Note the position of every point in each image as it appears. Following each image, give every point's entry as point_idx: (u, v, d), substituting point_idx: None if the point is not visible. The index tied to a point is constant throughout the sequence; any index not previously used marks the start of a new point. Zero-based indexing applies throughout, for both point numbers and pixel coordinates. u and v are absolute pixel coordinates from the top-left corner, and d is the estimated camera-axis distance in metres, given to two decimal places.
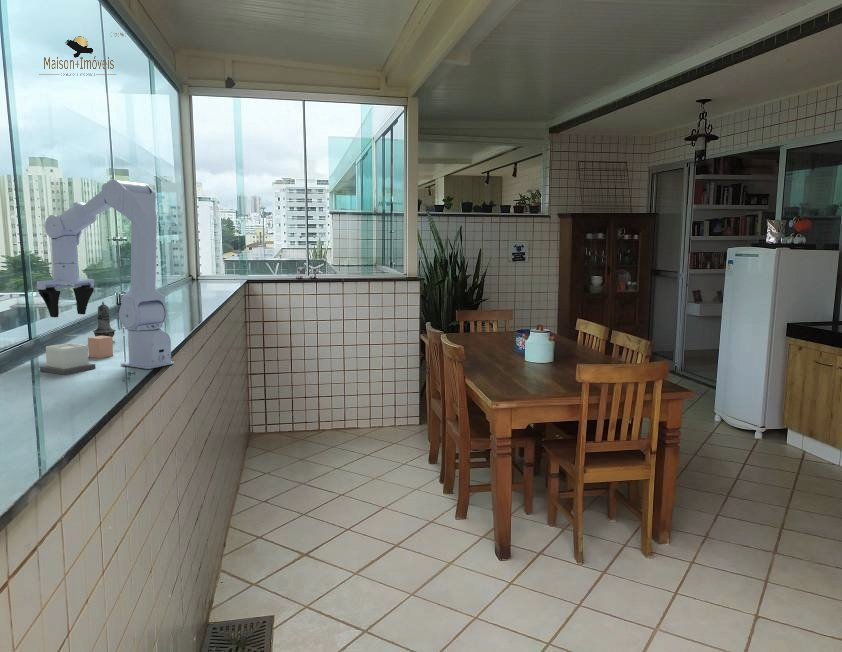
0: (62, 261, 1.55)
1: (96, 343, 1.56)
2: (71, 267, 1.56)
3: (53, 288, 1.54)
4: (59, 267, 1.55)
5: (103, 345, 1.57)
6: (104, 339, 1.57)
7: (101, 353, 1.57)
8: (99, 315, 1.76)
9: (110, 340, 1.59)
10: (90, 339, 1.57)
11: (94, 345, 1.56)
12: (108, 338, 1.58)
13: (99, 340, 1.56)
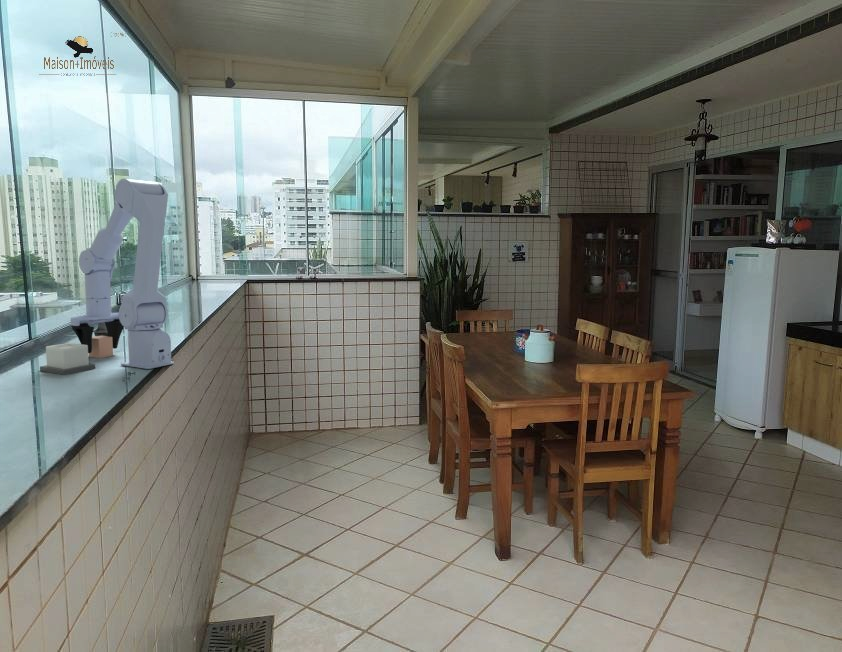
0: (94, 296, 1.54)
1: (96, 343, 1.56)
2: (104, 302, 1.55)
3: (87, 324, 1.54)
4: (93, 302, 1.54)
5: (103, 345, 1.57)
6: (104, 339, 1.57)
7: (101, 353, 1.57)
8: None
9: (110, 340, 1.59)
10: None
11: (94, 345, 1.56)
12: (108, 338, 1.58)
13: (99, 340, 1.56)
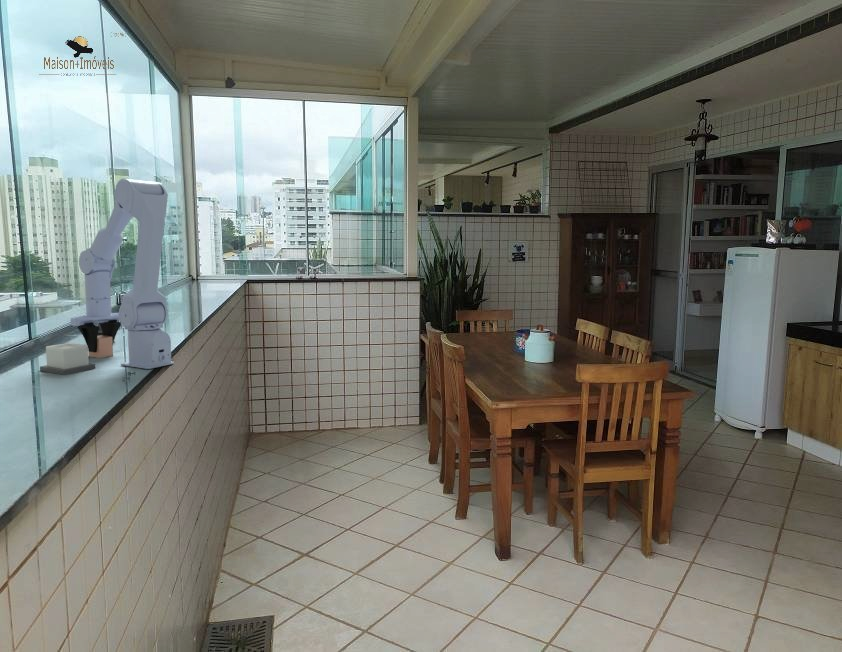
0: (94, 297, 1.54)
1: None
2: (104, 302, 1.55)
3: (87, 324, 1.54)
4: (93, 303, 1.54)
5: (103, 345, 1.57)
6: (104, 339, 1.57)
7: (101, 353, 1.57)
8: None
9: (110, 340, 1.59)
10: None
11: None
12: (108, 338, 1.58)
13: (99, 340, 1.56)
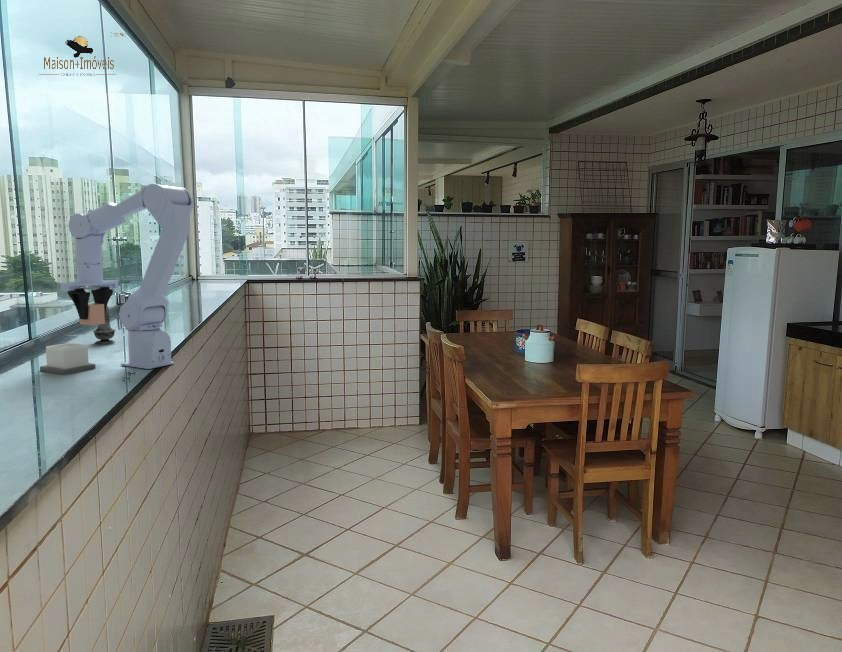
0: (88, 262, 1.49)
1: None
2: (95, 268, 1.50)
3: (77, 290, 1.48)
4: (83, 268, 1.49)
5: (94, 312, 1.52)
6: (95, 306, 1.52)
7: (93, 320, 1.52)
8: None
9: (102, 307, 1.54)
10: None
11: None
12: (99, 305, 1.53)
13: (90, 307, 1.51)
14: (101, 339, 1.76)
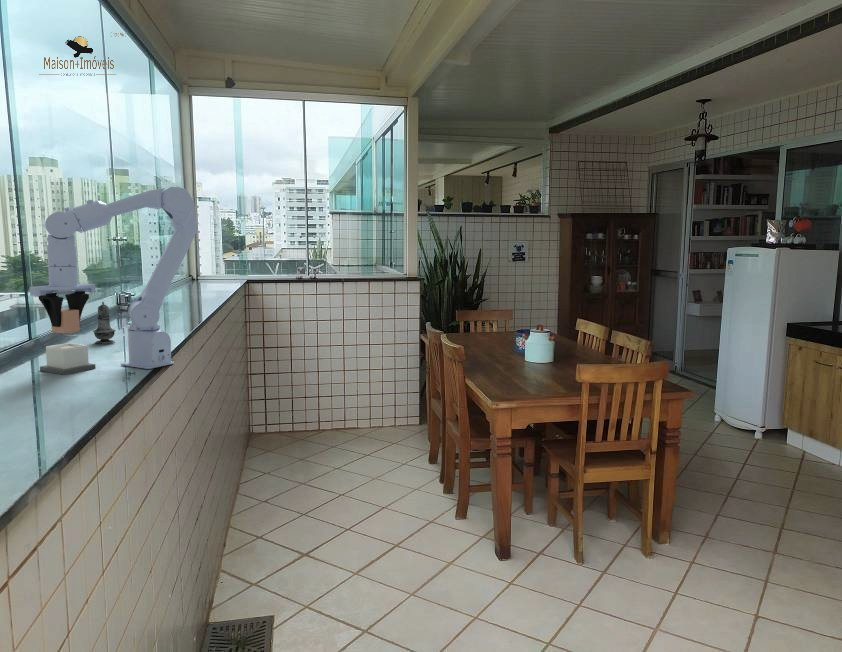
0: (72, 264, 1.38)
1: None
2: (69, 270, 1.37)
3: (49, 294, 1.36)
4: (55, 270, 1.36)
5: (68, 318, 1.39)
6: (69, 312, 1.39)
7: (66, 327, 1.39)
8: (99, 315, 1.76)
9: (76, 313, 1.41)
10: None
11: None
12: (74, 311, 1.40)
13: (63, 313, 1.38)
14: (101, 339, 1.76)
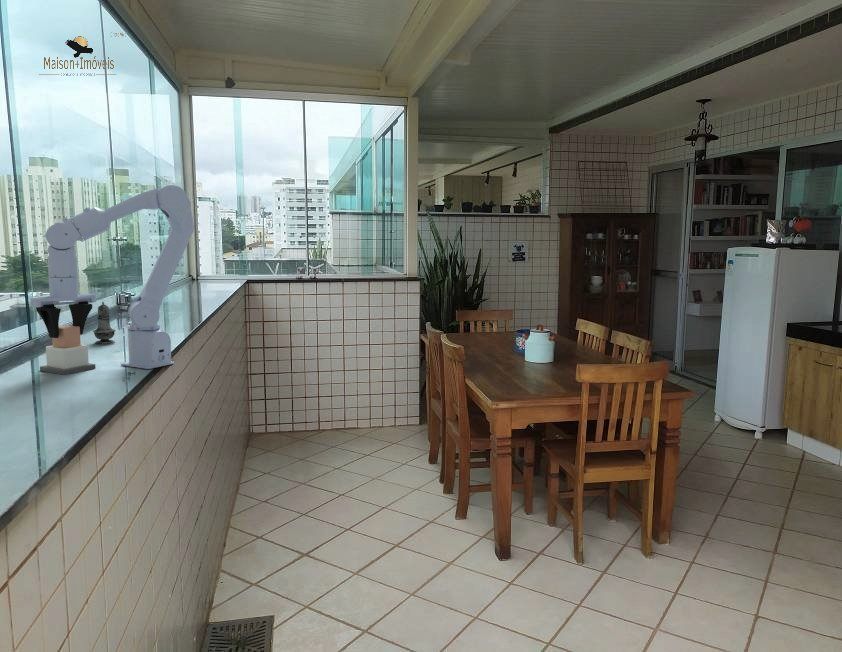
0: (72, 274, 1.38)
1: (61, 333, 1.39)
2: (70, 281, 1.38)
3: (49, 305, 1.36)
4: (56, 281, 1.37)
5: (69, 335, 1.40)
6: (70, 329, 1.40)
7: (67, 344, 1.39)
8: (99, 315, 1.76)
9: (77, 330, 1.41)
10: None
11: (59, 335, 1.39)
12: (75, 328, 1.41)
13: (64, 330, 1.38)
14: (101, 339, 1.76)
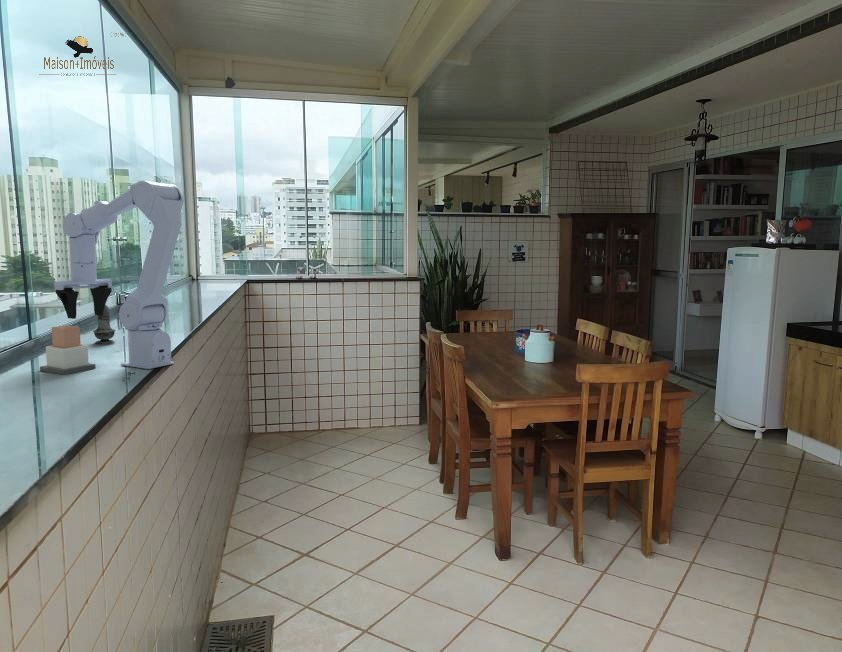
0: (81, 261, 1.50)
1: (61, 333, 1.39)
2: (89, 267, 1.52)
3: (71, 288, 1.50)
4: (77, 267, 1.50)
5: (69, 335, 1.40)
6: (70, 329, 1.40)
7: (67, 344, 1.39)
8: None
9: (77, 330, 1.41)
10: (54, 329, 1.39)
11: (59, 335, 1.39)
12: (75, 328, 1.41)
13: (64, 330, 1.38)
14: (101, 339, 1.76)
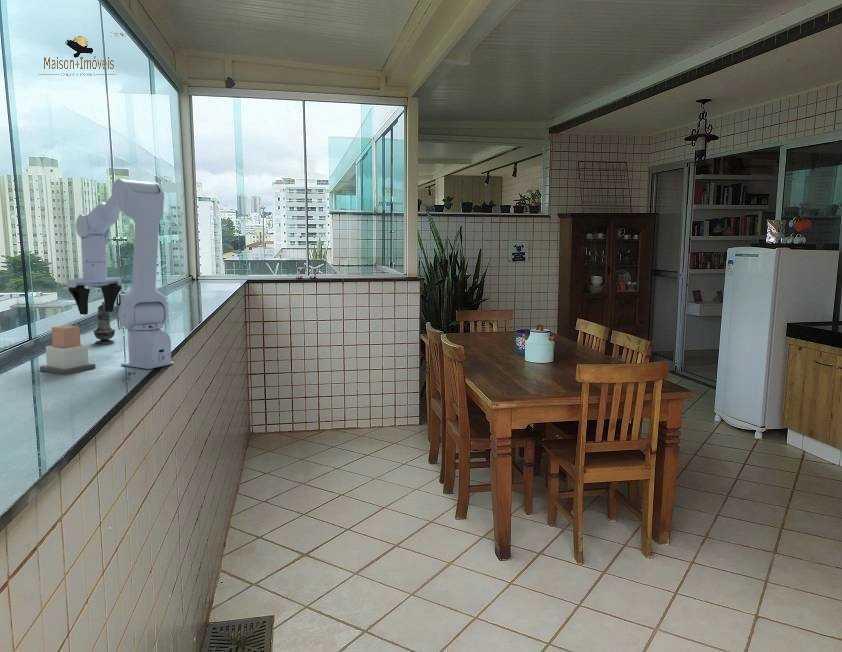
0: (89, 260, 1.59)
1: (61, 333, 1.39)
2: (100, 266, 1.60)
3: (83, 286, 1.58)
4: (89, 265, 1.59)
5: (69, 335, 1.40)
6: (70, 329, 1.40)
7: (67, 344, 1.39)
8: (99, 315, 1.76)
9: (77, 330, 1.41)
10: (54, 329, 1.39)
11: (59, 335, 1.39)
12: (75, 328, 1.41)
13: (64, 330, 1.38)
14: (101, 339, 1.76)
